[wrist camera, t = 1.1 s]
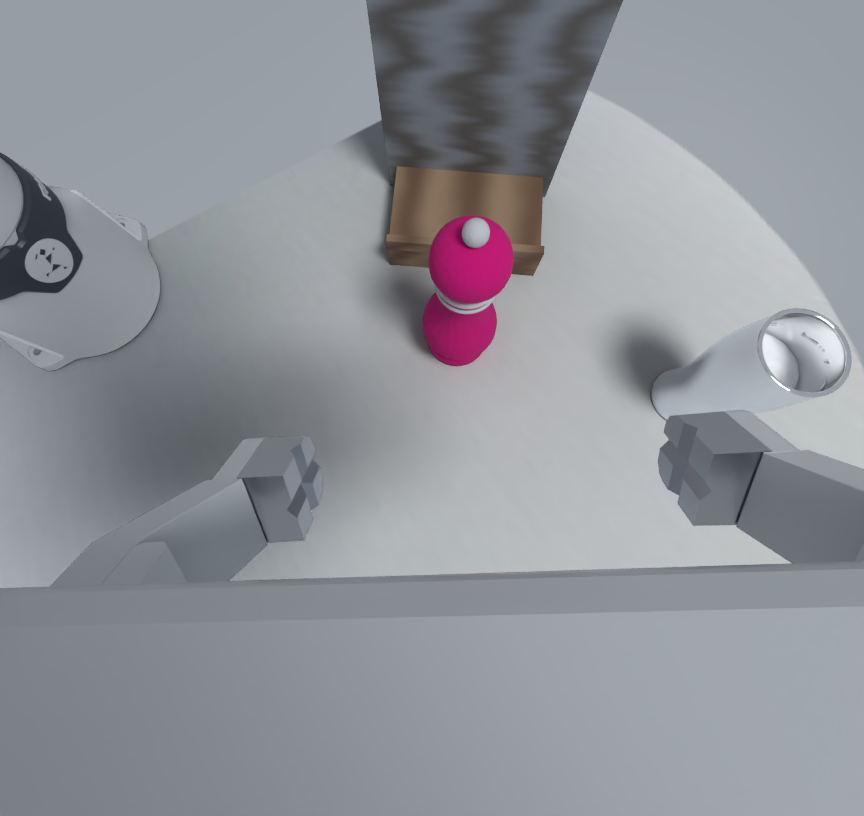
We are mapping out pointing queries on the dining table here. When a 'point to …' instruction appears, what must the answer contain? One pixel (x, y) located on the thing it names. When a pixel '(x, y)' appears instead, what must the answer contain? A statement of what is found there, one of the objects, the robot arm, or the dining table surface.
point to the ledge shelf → (479, 110)
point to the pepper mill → (465, 287)
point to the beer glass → (759, 368)
